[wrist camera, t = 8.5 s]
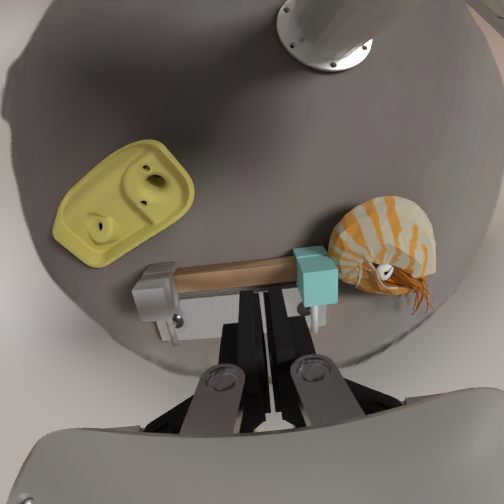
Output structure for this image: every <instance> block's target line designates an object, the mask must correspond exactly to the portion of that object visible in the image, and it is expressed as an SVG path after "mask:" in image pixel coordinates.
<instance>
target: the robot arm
mask: <svg viewBox="0 0 504 504" xmlns="http://www.w3.org/2000/svg"><path fill="white" fill-rule="evenodd" d="M421 1H422V0H287V1H286V2H285V3H284V4H283V5H282V7H281V9H280V11H279V13H278V16H277V22H276V28H277V34H278V36H279V39H280V41H281V43H282V45H283V46H284V48H285V49H286V50H287V51H288V52H289V53H290V54H291V56H293V57H294V58H295V59H297V60H298V61H299V62H301V63H303V64H305V65H306V66H309V67H311V68H314V69H316V70H321V71H326V72H339V71H345V70H348V69H351V68H353V67H355V66H357V65H358V64H359V63H361V62H362V61H363V60H364V59H365V58H366V57H367V55H368V53H369V52H370V49H371V45H372V39H373V38H374V37H375V36H377V35H378V34H380V33H381V32H382V31H384V30H385V29H387V28H388V27H389V26H391V25H392V24H394V23H395V22H396V21H398V20H399V19H401V18H402V17H404V16H405V15H407V14H408V13H409V12H411V11H412V10H414V9H415V8H416V7H417V6H418V5H419V4H420V3H421ZM463 1H465V2H466V3H467V4H468V5H469V6H470V7H472V8H473V9H474V10H475V11H476V12H477V13H478V14H479V15H480V16H481V17H482V18H484V19H485V20H486V21H487V22H488V23H489V24H490V25H491V26H492V27H493V28H494V29H495V30H496V31H497V32H498V33H499V34H500V35H501V36H502V37H503V38H504V0H463ZM285 11H286V12H287V13H286V12H285ZM290 46H293V47H294V48H290ZM362 48H363V49H364V50H363V49H362ZM330 65H333V68H332V67H331V66H330ZM263 297H264V308H265V318H266V328H267V339H268V349H269V359H270V367H271V376H272V385H273V393H274V401H275V411H276V412H282V420H286V421H287V422H289V423H291V424H293V429H285V430H275V431H265V432H256V428H257V427H258V426H259V425H260V424H261V423H262V422H264V421H266V417H265V413H271V408H270V395H269V382H268V370H267V358H266V347H265V339H264V331H263V323H262V314H261V306H260V298H259V293H254V292H253V290H245V291H240V293H239V315H238V323H228V324H223V328H222V337H221V345H220V354H219V362H218V365H215V366H212V367H211V368H209V369H207V370H206V371H205V372H204V373H203V374H202V376H201V378H200V380H199V383H198V386H197V388H196V391H195V394H194V395H192V396H191V397H190V398H188V399H186V400H185V401H183V402H182V403H180V404H179V405H177V406H176V407H174V408H173V409H171V410H169V411H168V412H166V413H165V414H163V415H161V416H160V417H159V418H157V419H155V420H154V421H152V422H151V423H149V424H148V425H147V426H146V427H145V428H141V427H140V426H139V425H138V426H129V427H119V428H104V429H100V428H71V429H64V430H58V431H55V432H51V433H49V434H46V435H45V436H43V437H42V438H41V439H39V440H38V442H37V443H36V444H35V445H34V447H33V448H32V450H31V451H30V453H29V454H28V456H27V458H26V460H25V461H24V463H23V465H22V467H21V469H20V471H19V473H18V475H17V478H16V480H15V482H14V484H13V487H12V489H11V492H10V495H9V497H8V500H7V503H6V504H504V391H503V390H500V389H497V388H490V387H479V388H467V389H461V390H456V391H452V392H448V393H441V394H435V395H427V396H419V397H409V398H405V401H399V400H397V399H395V398H394V397H392V396H389V395H386V394H383V393H381V392H378V391H376V390H373V389H370V388H368V387H365V386H362V385H360V384H357V383H355V382H353V381H350V380H348V379H345V378H343V376H342V375H341V373H340V371H339V370H338V368H337V366H336V365H335V363H334V362H333V361H332V360H331V359H330V358H328V357H327V356H323V355H320V354H316V352H315V349H314V345H313V342H312V338H311V335H310V332H309V328H308V325H307V322H306V318H305V316H304V315H300V316H292V317H288V315H287V311H286V306H285V301H284V297H283V292H282V288H281V286H280V287H272V288H268V292H263Z"/></svg>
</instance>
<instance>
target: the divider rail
mask: <svg viewBox="0 0 504 504" xmlns="http://www.w3.org/2000/svg"><path fill="white" fill-rule="evenodd" d="M327 253H328V252H327ZM296 280H297V264H296V259H295V257H294V256H285V257H277V258H268V259H259V260H250V261H241V262H232V263H223V264H214V265H205V266H195V267H186V268H177V264H176V262H170V263H161V264H152V265H149V266H148V267H147V268H146V270H145V271H144V273H143V275H142V277H141V278H140V280H139V281H138V282H137V284H136V285H135V287H134V288H133V289H132V294H133V297H134V300H135V304H136V307H137V310H138V313H139V316H140V319H141V322H154V321H165V322H166V325H167V328H168V332H169V335H170V338H171V341H172V344H173V346H178V345H179V341H178V337H177V334H176V331H175V327H176V324H177V322H176V321H173V320H172V318H173V315H174V313H175V310H176V308H177V305H178V303H179V301H180V299H181V296H182V294H183V292H193V291H204V290H214V289H225V288H234V287H244V286H253V285H262V284H271V283H280V282H288V281H296Z"/></svg>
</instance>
